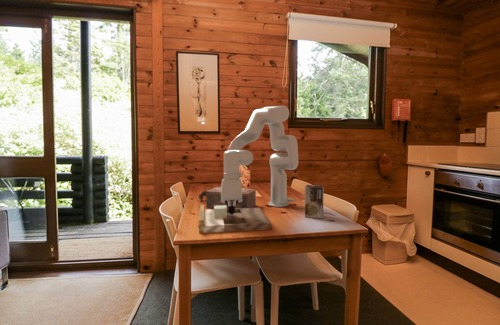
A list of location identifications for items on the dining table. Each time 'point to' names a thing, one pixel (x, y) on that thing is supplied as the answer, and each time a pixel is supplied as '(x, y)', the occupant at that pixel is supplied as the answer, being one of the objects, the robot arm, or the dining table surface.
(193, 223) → the dining table surface
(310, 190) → the coffee box
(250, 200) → the tissue box cover
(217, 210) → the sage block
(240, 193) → the robot arm
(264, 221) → the box
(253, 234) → the dining table surface
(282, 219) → the dining table surface
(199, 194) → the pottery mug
